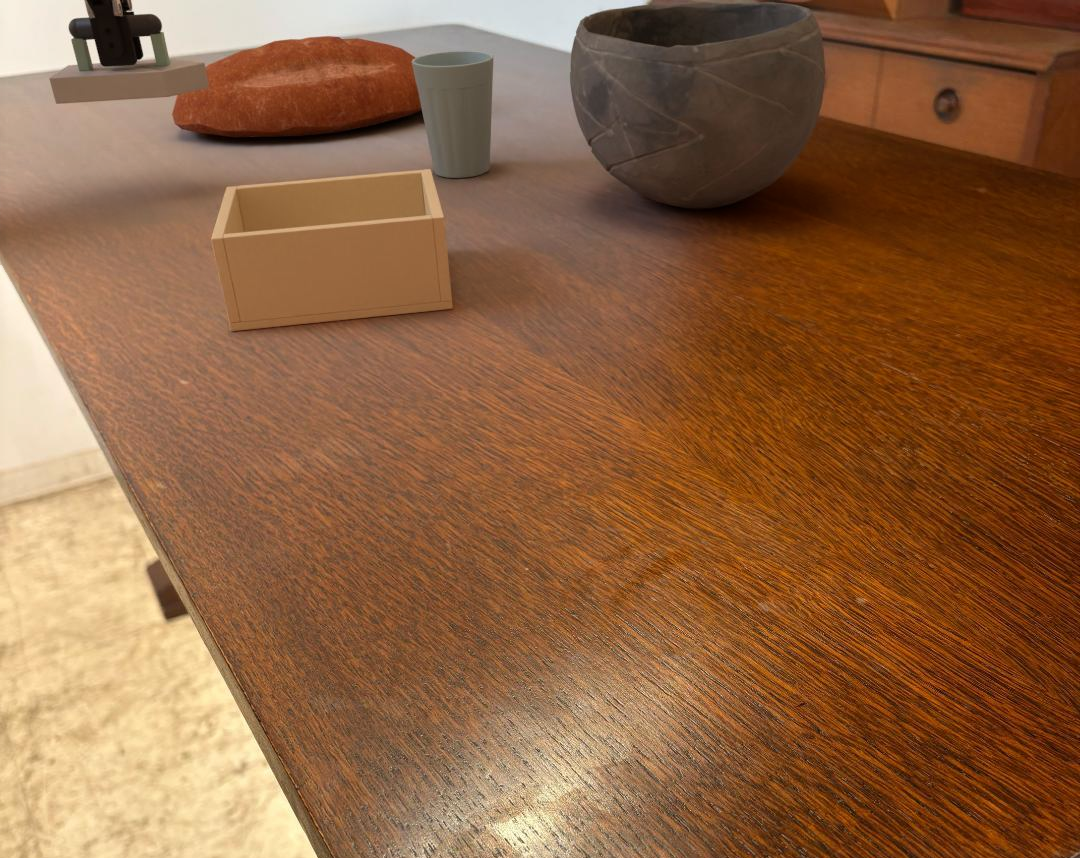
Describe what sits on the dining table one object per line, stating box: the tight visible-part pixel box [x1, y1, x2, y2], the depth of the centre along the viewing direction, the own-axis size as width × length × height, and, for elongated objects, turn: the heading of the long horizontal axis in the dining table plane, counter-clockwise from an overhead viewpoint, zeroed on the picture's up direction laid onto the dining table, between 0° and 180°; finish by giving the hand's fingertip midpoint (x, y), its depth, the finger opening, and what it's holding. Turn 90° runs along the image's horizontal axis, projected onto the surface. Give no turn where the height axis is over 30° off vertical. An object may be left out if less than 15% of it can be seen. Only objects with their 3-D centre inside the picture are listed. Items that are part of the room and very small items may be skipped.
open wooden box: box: [210, 168, 454, 332], centre depth 80 cm, size 16×13×7 cm
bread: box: [171, 35, 422, 138], centre depth 127 cm, size 23×32×9 cm
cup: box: [412, 50, 494, 179], centre depth 105 cm, size 8×8×10 cm
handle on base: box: [48, 13, 209, 105], centre depth 99 cm, size 13×6×6 cm, turn 96°
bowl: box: [569, 1, 826, 210], centre depth 92 cm, size 21×21×15 cm
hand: (122, 61), depth 100 cm, fingers closed on handle on base, 2 cm apart
